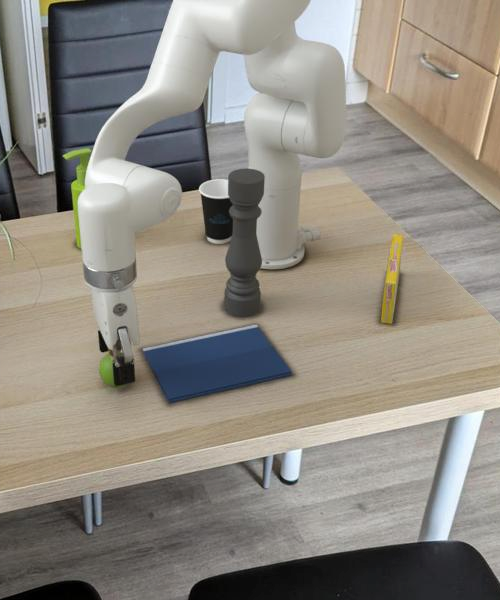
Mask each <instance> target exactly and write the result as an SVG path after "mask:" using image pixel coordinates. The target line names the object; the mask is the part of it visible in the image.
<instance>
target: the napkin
mask: <svg viewBox="0 0 500 600" xmlns="http://www.w3.org/2000/svg"><path fill="white" fill-rule="evenodd" d="M141 350H142V353H143V355H144V357H145V359H146V360H147V362H148V364H149V367H150V369H151V371H152V372H153V374H154V376H155V379H156V381H157V382H158V384H159V387H160V389H161V391H162V393H163V394H164V397H165V398H166V400H167V402H168V404H173V403H176V402H181V401H186V400H189V399H190V400H191V399H194V398H199V397H203V396H207V395H213V394H216V393H221V392H226V391H230V390H235V389H238V388H243V387H247V386H253V385H257V384H262V383H265V382H270V381H274V380H279V379H282V378H287V377H291V376H292V375H293V374H292V370H291V369H290V368H289V366H288V365H287V363H286V362H285V361H284V359H283V358H282V356H281V355H280V354H279V352H278V351H277V349H276V348H275V347H274V346H272V345H271V343H270V341H269V340H268V339H267V337H266V336H265V335H264V333H263V332H262V331H261V329H260V328H259V325H257V323H255V324H249V325H245V326H241V327H235V328H232V329H231V328H230V329H226V330H221V331H217V332H212V333H208V334H202V335H198V336H193V337H189V338H184V339H180V340H179V339H178V340H175V341H170V342H166V343H160V344H155V345H150V346H147V347H142V348H141Z"/></svg>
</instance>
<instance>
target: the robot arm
mask: <svg viewBox="0 0 500 600" xmlns="http://www.w3.org/2000/svg"><path fill="white" fill-rule="evenodd" d="M311 1H312V0H172V3H171V5H170V8H169V11H168V14H167V17H166V20H165V22H164V26H163V29H162V32H161V34H160V38H159V41H158V44H157V47H156V49H155V53H154V56H153V59H152V62H151V64H150V66H149V67H150V68H149V71H148V75H147V76H146V80H145V82H144V84H143V85H142V87H141V88H140V90H139V91H137V92H136V93H135V94H133V95H132V96H130V97H129V98H128V99H127V100H125V101H124V103H122V104H121V105H120V106H119V107H118V108H117V109H116V111H115V112H114V113H112V115H111V116H109V118H108V119H107V120H106V122H105V123H104V124H103V126H102V127H101V129H100V131H99V133H98V134H97V137H96V139H95V142H94V145H93V149H92V150H91V151H92V154H91V155H90V156H89V164H88V167H87V171H86V176H85V190H83V191H82V192H81V194H80V195H79V198H78V216H79V227H80V237H81V248H82V249H81V259H82V267H83V268H82V269H83V279H84V283H85V285H86V286H87V287H88V288H89V289H91V302H92V309H93V310H92V311H93V316H94V319H95V322H96V324H97V328H98V330H97V336H98V347H99V348H98V349H99V352H100V353H109V352H108V348H109V349H111V350H112V353H113V358H114V363H113V364H112V365H113V378H114V384H115V386H120V385H124V386H126V385H129V384H133V383H135V382H136V367H135V357H134V351H133V347H132V345H133V346H139V345H140V343H141V335H140V334H141V333H140V324H139V317H138V314H139V313H138V307H137V301H136V294H135V290H134V289H135V288H134V284H135V283H136V281H137V278H138V274H137V273H138V271H137V270H138V269H137V252H136V233H137V232H140V231H143V230H146V229H148V228H151V227H155V226H158V225H160V224H162V223H163V222H165V221H167V220H169V219H170V218H171V217H172V216H173V215H174V214H175V213H176V212H177V210H178V209H179V208H180V205H181V202H182V200H183V199H182V198H183V190H182V185H181V184H180V181H179V180H178V179H177V178H176V177H175V176H173V175H172V174H170V173H168V172H166V171H162V170H159V169H156V168H152V167H149V166H145V165H142V164H138V163H135V162H131V161H128V160H126V158H127V155H128V152H129V150H130V148H131V146H132V144H133V143H134V142H135V140H136V139H137V138H138V136H139V135H140V134H142V132H144V131H145V130H146V129H148V128H149V127H151V126H153V125H155V124H158V123H159V122H162V121H165V120H168V119H170V118H174V117H178V116H181V115H185V114H189V113H192V112H195V111H197V110H198V109H199V108H200V107H201V106H202V104H203V102H204V99H205V95H206V94H207V93H206V92H207V90H208V87H209V83H210V81H211V78H212V75H213V72H214V70H215V66H216V63H217V60H218V58H219V55H220V53H221V52H225V53H226V52H227V53H232V54H237V55H243V59H244V67H245V73H246V77H247V81H248V84H249V85H250V87H251V88H252V90H254V91H255V92H257V93H256V94H255V95H254V96H252V97H251V98H250V100H249V101H248V103H247V104H246V107H245V109H244V114H243V126H244V133H245V138H246V144H247V155H248V156H247V157H248V167H247V168H248V169H255V170H258V171H261V172H262V173H263V174H264V176H265V181H264V195H263V197H262V200H261V201H260V203H259V205H258V206H259V207H260V208H261V211H262V213H261V215H260V217H259V218H258V219H257V231H256V235H257V239H258V244H259V249H260V253H261V258H262V265H261V267H260V269H262V270H283V269H288V268H290V267H293V266H295V265H297V264H299V263H300V262H302V260H303V259H304V258H305V257H304V256H305V246H304V245H305V244H307V242H313V241H317V240H318V241H319V240H321V239H322V232H321V230H320V229H315V230H314V229H313V230H310V229H309V226H307V225H305V226H301V227H299V218H300V217H299V215H300V205H301V204H300V203H301V189H302V175H303V170H302V168H303V167H302V164H301V159H300V156H299V155H302V156H306V157H311V158H316V159H327V158H330V157H333V156H334V155H336V154H337V153H338V152H339V151H340V149H341V148H342V146H343V143H344V141H345V137H346V132H347V118H348V117H347V116H348V115H347V92H346V91H347V89H346V86H347V85H346V69H345V68H346V67H345V61H344V58H343V56H342V54H341V52H340V51H339V50H338V49H337V48H336V47H335V46H333V45H331V44H329V43H325V42H320V41H315V40H309V39H303V38H301V36H298V34H297V31H296V21H297V20H298V19H300V17H301V16H302V15H303V14H304V13H305V11H306V10H307V8H308V6H309V5H310V3H311ZM117 340H119V341H120V344H118V345H115V344H116V342H117ZM117 349H121V352H122V356H121V357H119V358H118V353H117ZM125 384H126V385H125Z"/></svg>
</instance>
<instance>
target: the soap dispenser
mask: <svg viewBox="0 0 500 600" xmlns="http://www.w3.org/2000/svg"><path fill="white" fill-rule="evenodd" d="M92 151H93V150H92V149H90V148H89V147H86V148H85V147H84V148H79V149H75V150H72V151H68V152H67V153H65V154H62V157H63V158H64V159H65V160H66V161H70V160H73V159H76V158H79V164H78V165H77V166H76V168H75V171H76V179H75V180H73V182H72V183H71V184H70V187H71V195H72V196H71V199H72V210H73V219H74V230H75V240H76V241H75V242H76V246H77V248H78V249H80V250H82V248H81V237H80V227H79V216H78V198H79V195H80V194H81V192H82V191H83V190H85V176H86V171H87V167H88V164H89V160H90V156H91V154H92Z"/></svg>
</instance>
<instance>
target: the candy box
mask: <svg viewBox="0 0 500 600" xmlns="http://www.w3.org/2000/svg"><path fill="white" fill-rule="evenodd" d="M403 241H404V235H403V234H397V233H393V234H392V237H391V244H390V250H389V255H388V262H387V268H386V274H385V281H384V287H383V296H382V305H381V315H380V316H381V318H380V322H381V323H382V324H391V325H392V324H393V320H394V314H395V307H396V301H397V296H398V295H397V294H398V287H399V280H400V272H401V264H402V252H403V243H404V242H403Z"/></svg>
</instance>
